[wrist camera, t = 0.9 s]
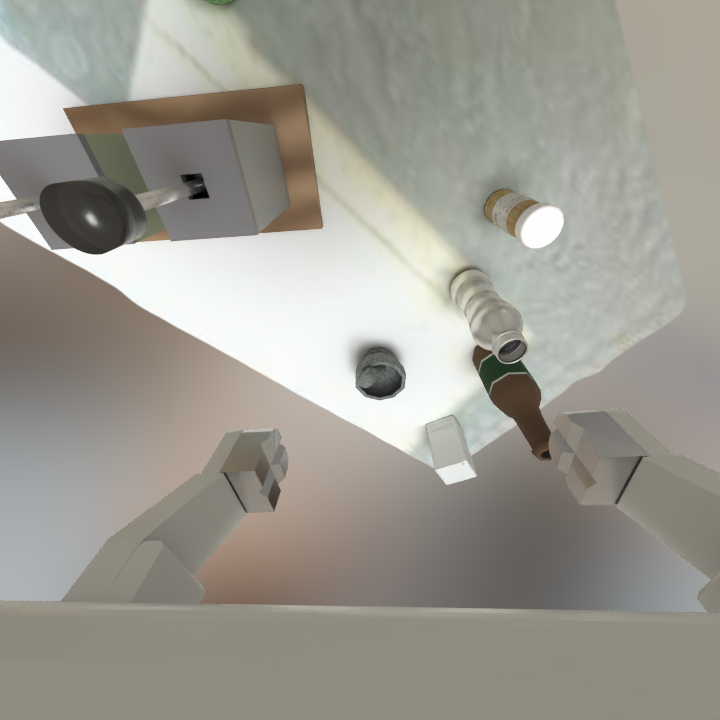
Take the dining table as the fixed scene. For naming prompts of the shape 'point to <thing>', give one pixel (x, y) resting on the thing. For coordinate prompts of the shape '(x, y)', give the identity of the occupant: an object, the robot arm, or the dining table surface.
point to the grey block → (214, 175)
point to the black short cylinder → (106, 210)
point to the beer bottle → (515, 397)
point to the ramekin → (219, 1)
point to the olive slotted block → (70, 171)
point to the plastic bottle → (489, 316)
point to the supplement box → (450, 450)
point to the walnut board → (243, 105)
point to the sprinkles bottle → (524, 218)
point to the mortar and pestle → (380, 375)
